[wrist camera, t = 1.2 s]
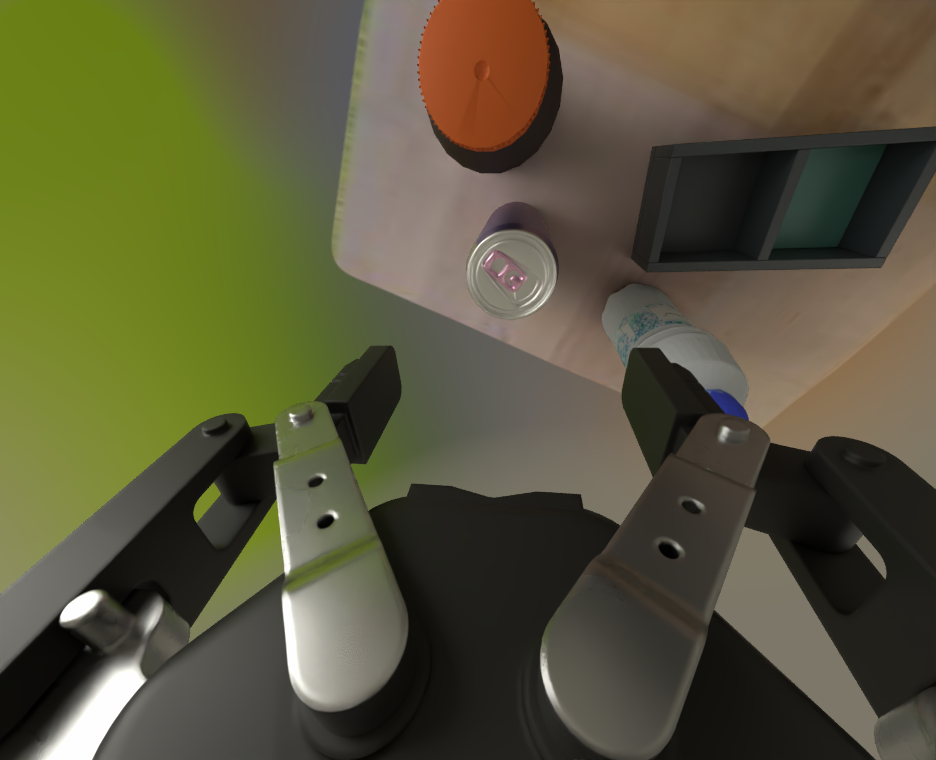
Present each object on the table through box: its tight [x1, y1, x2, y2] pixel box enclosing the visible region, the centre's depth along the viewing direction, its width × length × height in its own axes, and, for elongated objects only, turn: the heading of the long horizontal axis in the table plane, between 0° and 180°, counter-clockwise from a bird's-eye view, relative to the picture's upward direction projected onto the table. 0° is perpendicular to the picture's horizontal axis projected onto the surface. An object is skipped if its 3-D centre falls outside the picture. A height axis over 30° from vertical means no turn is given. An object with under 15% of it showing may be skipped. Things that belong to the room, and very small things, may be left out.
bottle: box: [602, 283, 749, 421], centre depth 28 cm, size 7×7×20 cm
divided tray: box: [631, 127, 936, 272], centre depth 28 cm, size 9×17×5 cm, turn 93°
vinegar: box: [417, 0, 563, 173], centre depth 21 cm, size 7×7×20 cm
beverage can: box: [466, 202, 559, 320], centre depth 28 cm, size 6×6×15 cm
